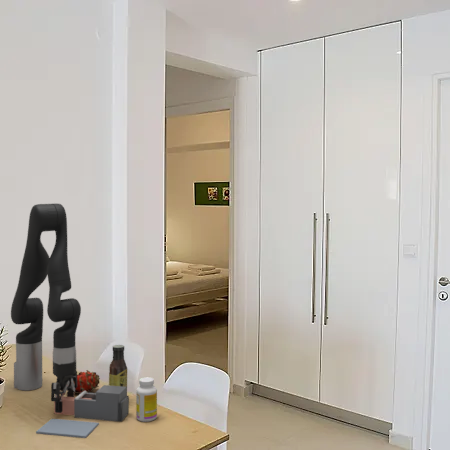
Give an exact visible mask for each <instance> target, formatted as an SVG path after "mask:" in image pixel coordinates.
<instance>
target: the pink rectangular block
mask: <svg viewBox="0 0 450 450" xmlns="http://www.w3.org/2000/svg"><path fill="white" fill-rule="evenodd" d="M76 397H77V396H76ZM76 397H75V396H74V397H67V396H65V395H64V396H63V399H62V410H63V411H62V412H61V413H56V412H55V401H53V403H54V404H53V410H54V411H53V412H54V413H53V414H54V415H68V416H74V399H75V398H76ZM81 399H91V398H81Z"/></svg>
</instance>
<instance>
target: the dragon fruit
mask: <svg viewBox="0 0 450 450" xmlns="http://www.w3.org/2000/svg"><path fill="white" fill-rule="evenodd" d="M100 379H101V378H100V375H99V374H97V372H93V371H92V372H91V371H89V370H88V369H87V370H86V372H85V371H79V372H78V373H77V384H78V386H77V388H75V391H74V394H81V393H82V392H83V391H86V392H87V393H93V390H96V389H97V388H99V387H100V386H99V385H100ZM73 382H74V381H73ZM74 384H75V382H74Z"/></svg>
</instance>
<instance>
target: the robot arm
mask: <svg viewBox="0 0 450 450" xmlns="http://www.w3.org/2000/svg"><path fill="white" fill-rule="evenodd" d="M27 229H28V230H27V237H26V244H25V249H24V253H23V258H22V260H21V267H20V272H19V278H18V284H17V288H16V291H15V294H14V297H13V300H12V302H11V308H10V319H11V321H12V323H13V324H15V325H26V324H30V325H29V326H27V327H26V328H25V329H23V330H22V331H20V332H18V333H16V336H15V362H13V389H17V390H19V391H34V390H37V389H38V390H39V389H40V388H42V386H43V332H44V331H43V330H44V329H43V327H44V304H43V301H42V299H41V298H40V297H30V296H31V295H32V294H33V292H35V291H36V290H37V289H38V288H39V287H40V286H41V285H42V284H43V283H44V281H45V280H46V279H47V281H48V286H49V287H48V288H49V289H48V290H49V292H48V302H47V309H46V310H47V311H46V312H47V316H48V318H49V320H50V322H53V323H60V322H64V323H63V325H61V326H59V327H56V328H55V330H54V331H53V339H52V340H53V341H52V343H53V344H52V345H53V347H52V350H53V351H52V374H53V376H55V377H56V381H55V382H51V384H50V385H51V386H50V387H51V388H50V389H51V390H50V393H51V394H50V401H51V402H54V401H55V412H56V413H61V412H62V411H63V410H62V399H63V396H65V395H66V397H75V393H74V391H75V388H77V386H78V384H77V375H78V371H77V349H76V348H77V346H76V332H77V328H78V325H79V321H80V318H81V313H82V307H81V304H80V302H79V300H78V299H76V298H74V297H73V298H72V297H71V298H66V299H61V297H62V294H63V293H67V292H68V291H70V290H71V289H72V281H71V273H70V268H69V259H68V220H67V212H66V209H65V207H64V206H63V205H62V204H61V203H39V204H34V205H33V206H32V207H31V210H30V213H29V219H28V228H27ZM43 232H44V233H45V232H55V243H54V246H53V249H52V251H51V255H49V253H48V252H47V249H46V248H45V247H44V245H43V243H42V240H41V239H42V238H41V237H42V233H43ZM73 381H74V382H75V384H74V382H73Z"/></svg>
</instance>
